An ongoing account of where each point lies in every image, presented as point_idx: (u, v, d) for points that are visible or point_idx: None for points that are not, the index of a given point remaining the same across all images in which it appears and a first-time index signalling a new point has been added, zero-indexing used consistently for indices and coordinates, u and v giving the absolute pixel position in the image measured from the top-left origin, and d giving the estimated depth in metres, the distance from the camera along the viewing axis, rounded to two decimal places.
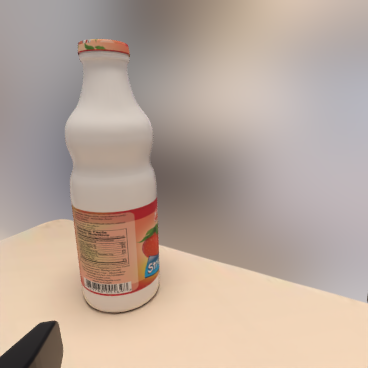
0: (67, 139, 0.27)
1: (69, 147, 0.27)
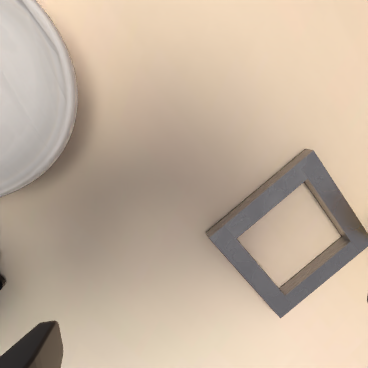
0: None
1: None
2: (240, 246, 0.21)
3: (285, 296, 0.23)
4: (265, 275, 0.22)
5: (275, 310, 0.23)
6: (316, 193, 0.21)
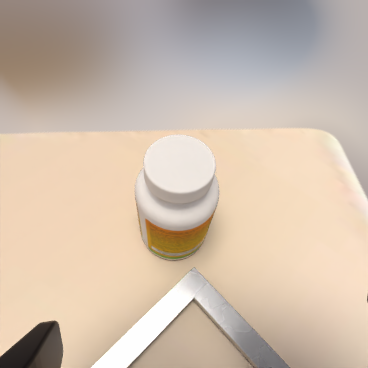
0: None
1: None
2: None
3: None
4: None
5: None
6: (134, 359, 0.18)
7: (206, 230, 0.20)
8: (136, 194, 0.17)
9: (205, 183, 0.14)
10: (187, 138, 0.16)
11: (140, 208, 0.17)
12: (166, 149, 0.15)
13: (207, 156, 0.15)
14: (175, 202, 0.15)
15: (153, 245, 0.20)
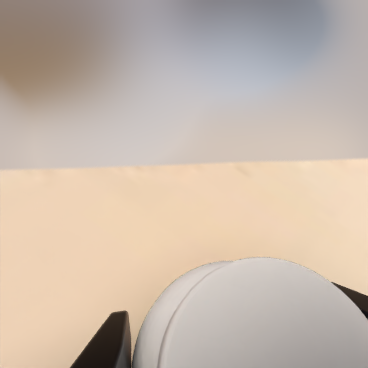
0: None
1: None
2: None
3: None
4: None
5: None
6: None
7: None
8: None
9: None
10: (287, 272, 0.05)
11: None
12: (230, 323, 0.05)
13: (365, 348, 0.05)
14: None
15: None
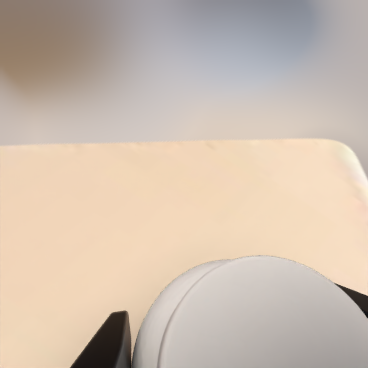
0: None
1: None
2: None
3: None
4: None
5: None
6: None
7: None
8: None
9: None
10: (287, 270, 0.05)
11: None
12: (231, 321, 0.05)
13: (364, 346, 0.05)
14: None
15: None
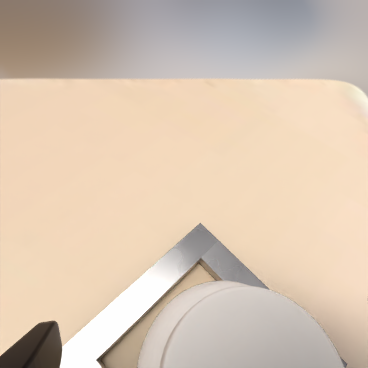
0: None
1: None
2: None
3: None
4: None
5: None
6: (125, 332, 0.14)
7: None
8: None
9: None
10: (265, 299, 0.06)
11: None
12: (217, 342, 0.06)
13: (326, 363, 0.06)
14: None
15: None
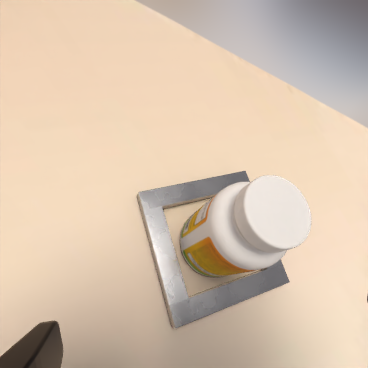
0: None
1: None
2: (198, 296, 0.20)
3: (268, 268, 0.22)
4: (239, 281, 0.21)
5: (279, 284, 0.22)
6: (180, 202, 0.23)
7: None
8: (213, 211, 0.16)
9: (294, 245, 0.14)
10: (293, 188, 0.15)
11: (210, 226, 0.16)
12: (270, 190, 0.14)
13: (305, 217, 0.14)
14: (253, 245, 0.14)
15: (192, 254, 0.20)
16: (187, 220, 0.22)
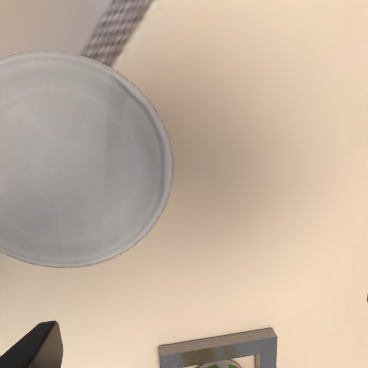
0: None
1: None
2: None
3: None
4: None
5: None
6: (258, 366, 0.24)
7: None
8: None
9: None
10: None
11: None
12: None
13: None
14: None
15: None
16: None
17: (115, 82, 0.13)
